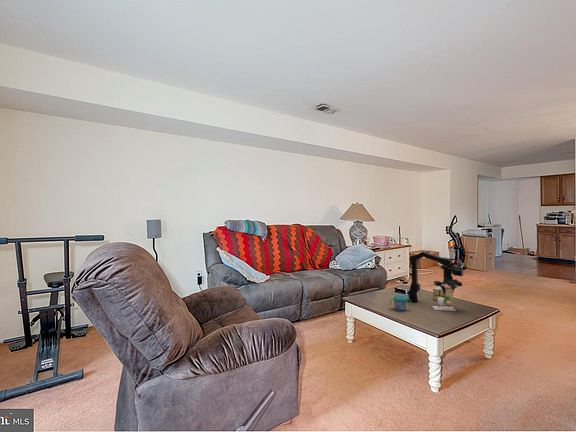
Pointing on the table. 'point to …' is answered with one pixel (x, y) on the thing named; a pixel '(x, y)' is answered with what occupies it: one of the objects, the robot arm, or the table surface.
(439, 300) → the ceramic cylinder
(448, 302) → the rubber ball
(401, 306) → the snack cup
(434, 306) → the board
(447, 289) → the maple block
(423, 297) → the table surface
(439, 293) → the puzzle cube
